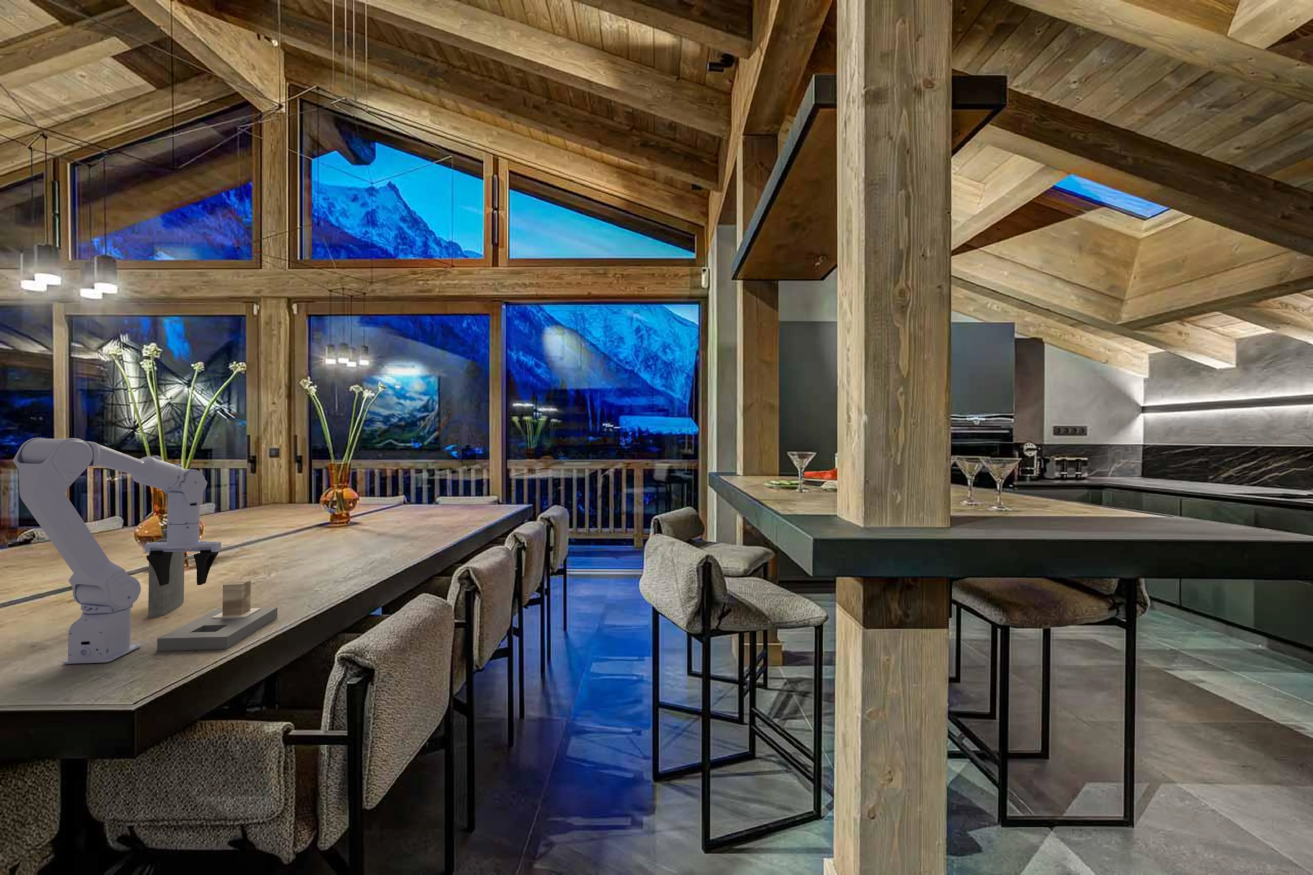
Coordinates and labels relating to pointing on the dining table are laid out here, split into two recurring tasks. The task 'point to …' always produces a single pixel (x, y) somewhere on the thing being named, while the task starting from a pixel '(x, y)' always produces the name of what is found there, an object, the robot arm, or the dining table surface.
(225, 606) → the peg
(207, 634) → the pocket plate
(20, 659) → the dining table surface
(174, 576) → the hip flask
